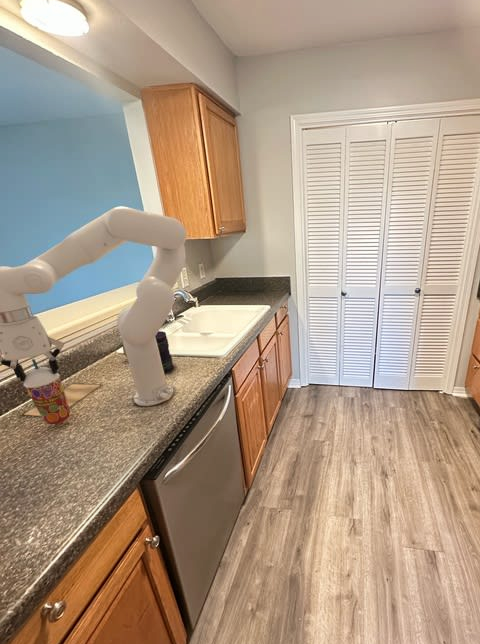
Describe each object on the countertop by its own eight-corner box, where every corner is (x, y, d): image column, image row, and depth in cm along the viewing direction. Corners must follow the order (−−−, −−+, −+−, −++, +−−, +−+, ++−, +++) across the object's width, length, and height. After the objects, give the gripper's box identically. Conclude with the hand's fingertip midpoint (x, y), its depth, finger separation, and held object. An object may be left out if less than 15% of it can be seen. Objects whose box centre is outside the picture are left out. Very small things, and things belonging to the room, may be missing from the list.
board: (72, 384, 122) (72, 383, 122) (100, 385, 120) (100, 385, 120) (23, 415, 104) (23, 414, 104) (55, 417, 102) (55, 416, 102)
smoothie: (39, 431, 93) (10, 369, 85) (44, 416, 100) (18, 357, 91) (73, 421, 96) (48, 361, 88) (76, 408, 103) (53, 351, 95)
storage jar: (177, 364, 134) (169, 330, 128) (169, 375, 125) (160, 339, 119) (153, 365, 134) (144, 331, 128) (143, 376, 125) (133, 341, 119)
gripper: (-34, 326, 78) (-3, 390, 85) (52, 312, 85) (75, 372, 93) (-25, 318, 84) (4, 379, 91) (55, 306, 91) (76, 362, 99)
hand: (39, 375), depth 92 cm, fingers closed on smoothie, 6 cm apart
